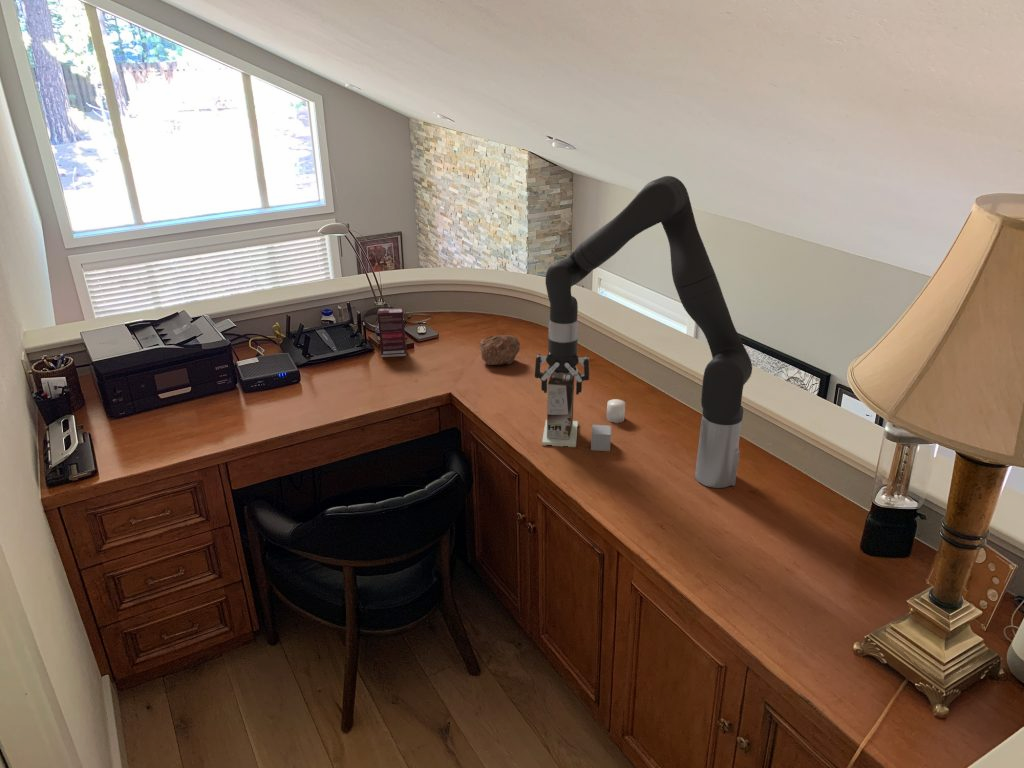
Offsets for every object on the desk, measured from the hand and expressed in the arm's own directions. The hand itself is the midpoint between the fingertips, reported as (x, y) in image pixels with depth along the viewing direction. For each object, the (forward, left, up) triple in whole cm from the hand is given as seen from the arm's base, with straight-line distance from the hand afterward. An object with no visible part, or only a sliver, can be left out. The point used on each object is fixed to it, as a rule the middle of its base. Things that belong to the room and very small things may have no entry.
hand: (561, 392), depth 201 cm
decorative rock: (+23, -47, -13) cm, 54 cm away
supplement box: (+60, -50, -13) cm, 79 cm away
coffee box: (0, 0, -12) cm, 12 cm away
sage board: (0, 0, -13) cm, 13 cm away
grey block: (-11, +5, -13) cm, 18 cm away
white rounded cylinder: (-15, -11, -13) cm, 23 cm away
